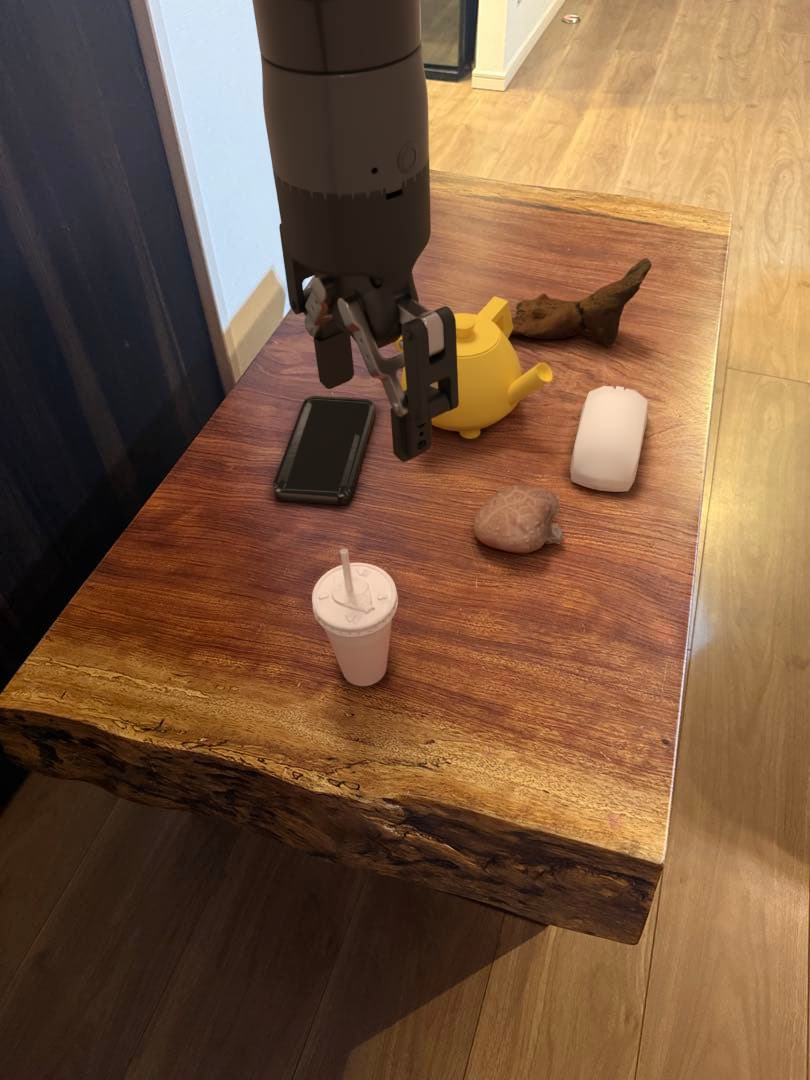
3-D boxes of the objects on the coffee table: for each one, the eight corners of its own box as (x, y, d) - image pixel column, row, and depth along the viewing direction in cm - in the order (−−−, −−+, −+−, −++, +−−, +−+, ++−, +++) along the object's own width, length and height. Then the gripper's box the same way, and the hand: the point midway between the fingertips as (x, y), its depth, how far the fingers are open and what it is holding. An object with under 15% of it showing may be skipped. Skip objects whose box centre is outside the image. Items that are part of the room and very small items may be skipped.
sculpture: (640, 269, 87) (506, 244, 92) (619, 365, 93) (494, 336, 98) (658, 255, 93) (531, 232, 99) (637, 346, 99) (518, 319, 104)
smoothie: (371, 622, 72) (357, 509, 62) (419, 670, 69) (413, 558, 58) (310, 663, 70) (285, 553, 59) (356, 715, 66) (339, 607, 56)
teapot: (582, 394, 92) (595, 305, 83) (500, 493, 82) (505, 403, 74) (429, 339, 100) (427, 252, 91) (338, 423, 90) (326, 334, 82)
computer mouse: (646, 415, 89) (657, 367, 84) (631, 500, 81) (642, 451, 76) (585, 406, 90) (592, 358, 86) (564, 488, 82) (571, 440, 77)
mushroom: (577, 514, 80) (504, 472, 81) (587, 500, 74) (508, 454, 75) (537, 582, 79) (463, 538, 80) (542, 573, 73) (463, 526, 74)
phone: (270, 491, 82) (305, 394, 91) (272, 499, 83) (307, 403, 92) (349, 498, 81) (377, 399, 90) (350, 506, 81) (377, 407, 91)
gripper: (213, 124, 43) (265, 383, 55) (363, 234, 34) (386, 509, 46) (339, 87, 45) (363, 341, 57) (506, 181, 37) (493, 454, 49)
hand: (373, 416), depth 52 cm, fingers open, 8 cm apart
